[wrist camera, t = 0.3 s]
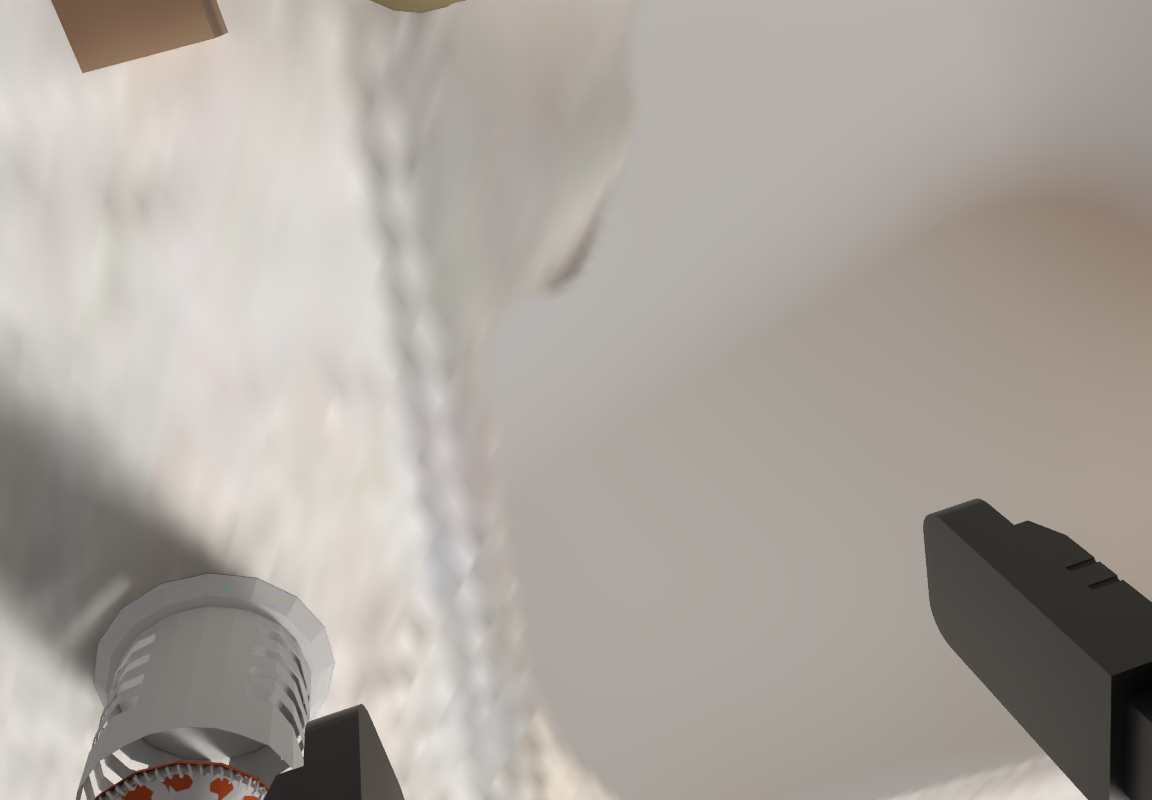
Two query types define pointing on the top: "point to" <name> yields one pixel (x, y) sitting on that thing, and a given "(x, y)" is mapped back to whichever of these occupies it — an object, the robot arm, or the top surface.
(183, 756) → the french press
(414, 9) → the cork
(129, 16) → the walnut block
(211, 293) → the top surface
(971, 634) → the robot arm
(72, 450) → the top surface
